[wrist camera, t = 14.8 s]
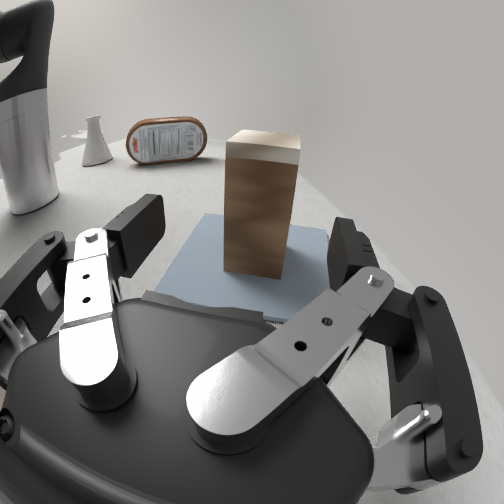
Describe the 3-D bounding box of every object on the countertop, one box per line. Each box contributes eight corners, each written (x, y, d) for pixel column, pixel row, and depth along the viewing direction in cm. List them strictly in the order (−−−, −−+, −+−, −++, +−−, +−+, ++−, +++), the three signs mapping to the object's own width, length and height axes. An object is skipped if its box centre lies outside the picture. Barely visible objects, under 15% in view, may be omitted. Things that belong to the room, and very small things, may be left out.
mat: (153, 298, 19) (152, 294, 18) (205, 216, 29) (205, 213, 29) (335, 328, 18) (336, 325, 17) (325, 233, 28) (326, 230, 28)
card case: (223, 270, 21) (226, 141, 16) (236, 237, 25) (242, 129, 20) (280, 279, 21) (300, 149, 15) (285, 245, 25) (300, 136, 19)
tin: (205, 156, 50) (206, 114, 45) (208, 160, 48) (209, 116, 43) (128, 164, 46) (125, 121, 41) (126, 168, 43) (123, 123, 38)
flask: (116, 154, 52) (113, 111, 46) (108, 164, 46) (104, 115, 40) (87, 159, 50) (83, 117, 44) (77, 169, 44) (71, 122, 39)
